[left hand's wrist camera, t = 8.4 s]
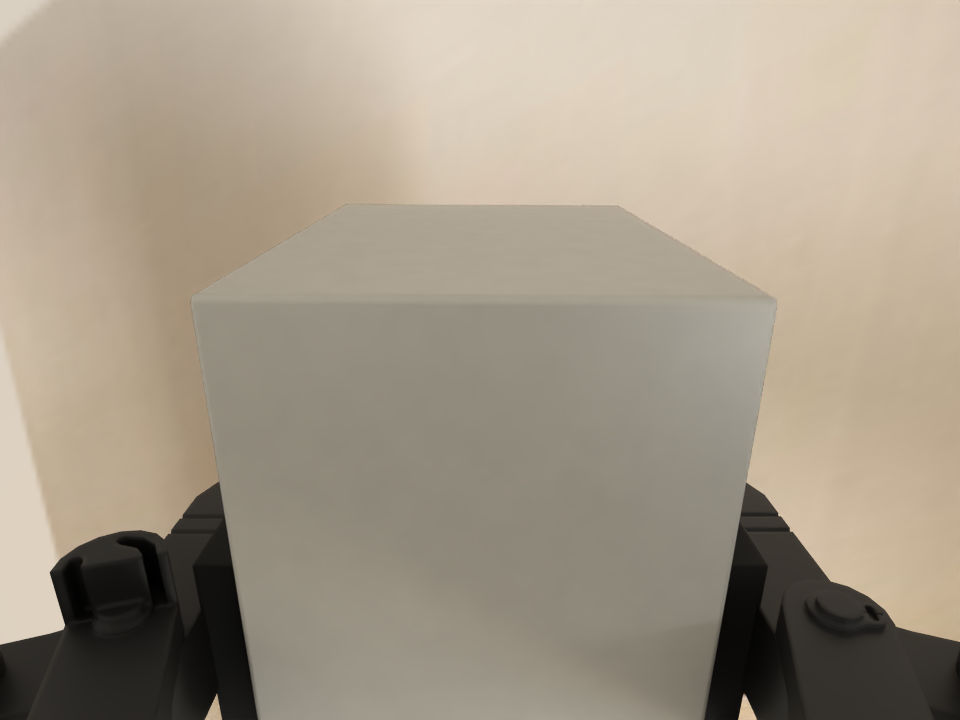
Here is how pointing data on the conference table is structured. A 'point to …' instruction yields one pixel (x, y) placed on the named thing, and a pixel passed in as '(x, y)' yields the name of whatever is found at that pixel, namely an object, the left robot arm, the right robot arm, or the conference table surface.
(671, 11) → the conference table surface
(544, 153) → the conference table surface
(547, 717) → the plank
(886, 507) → the conference table surface
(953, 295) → the conference table surface
